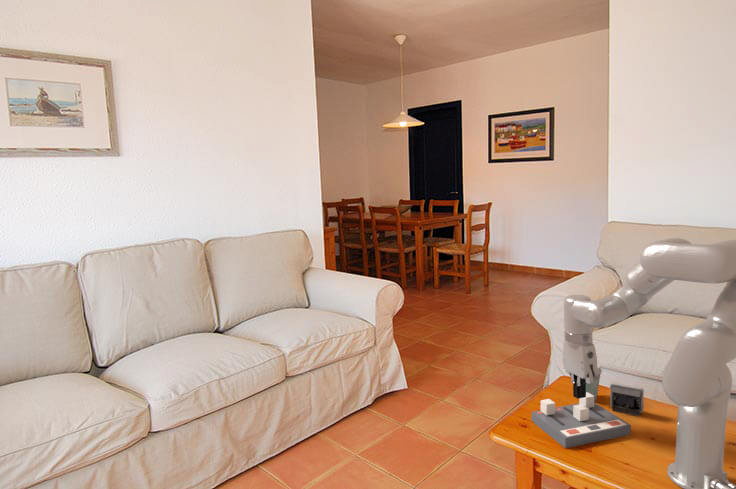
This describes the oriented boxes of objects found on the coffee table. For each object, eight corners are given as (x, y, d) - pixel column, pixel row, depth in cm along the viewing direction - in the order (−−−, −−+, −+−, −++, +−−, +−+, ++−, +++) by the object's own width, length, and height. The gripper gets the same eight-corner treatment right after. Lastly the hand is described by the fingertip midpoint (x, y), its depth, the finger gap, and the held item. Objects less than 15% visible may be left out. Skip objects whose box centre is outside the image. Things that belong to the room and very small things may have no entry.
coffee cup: (590, 406, 156) (591, 371, 154) (567, 397, 163) (568, 363, 161) (606, 399, 160) (607, 365, 158) (583, 390, 167) (584, 358, 166)
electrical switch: (643, 412, 151) (644, 385, 149) (642, 420, 147) (643, 393, 145) (610, 405, 156) (610, 379, 154) (608, 413, 152) (608, 387, 150)
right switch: (594, 406, 149) (594, 396, 148) (585, 408, 148) (586, 397, 148) (587, 402, 152) (587, 392, 151) (579, 404, 151) (579, 393, 151)
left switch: (555, 413, 145) (555, 403, 145) (546, 415, 145) (546, 404, 144) (548, 409, 148) (549, 398, 148) (540, 411, 148) (540, 400, 147)
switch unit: (630, 434, 138) (630, 424, 138) (565, 448, 133) (565, 437, 132) (591, 409, 154) (591, 400, 153) (531, 420, 148) (531, 411, 148)
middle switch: (588, 419, 141) (588, 408, 141) (580, 421, 141) (580, 410, 140) (581, 415, 144) (581, 404, 144) (573, 416, 143) (573, 405, 143)
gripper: (607, 342, 135) (608, 404, 136) (572, 329, 149) (573, 385, 151) (585, 346, 133) (586, 409, 135) (551, 332, 147) (553, 389, 149)
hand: (579, 396), depth 143 cm, fingers closed
